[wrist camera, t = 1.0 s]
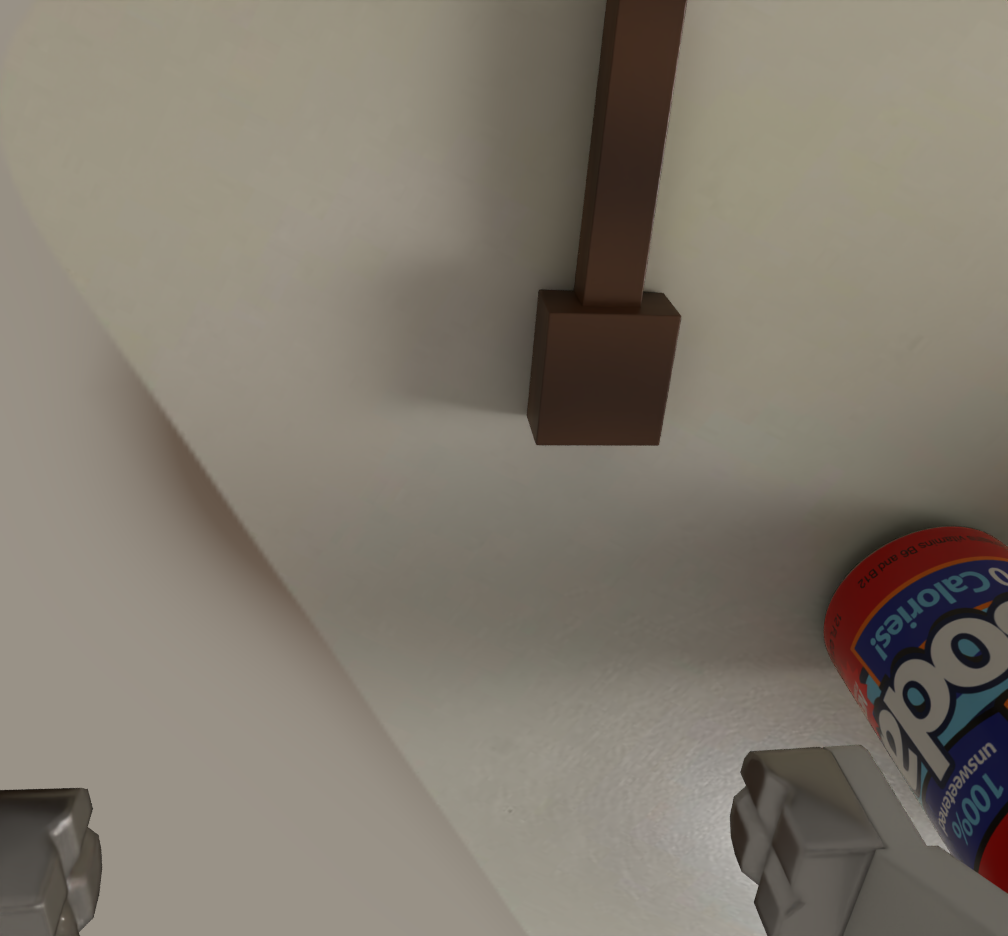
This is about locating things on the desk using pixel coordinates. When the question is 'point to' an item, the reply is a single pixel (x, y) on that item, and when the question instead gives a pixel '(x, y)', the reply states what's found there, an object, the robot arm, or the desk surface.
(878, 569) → the soda can
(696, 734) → the desk surface
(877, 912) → the robot arm
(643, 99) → the wooden mallet
